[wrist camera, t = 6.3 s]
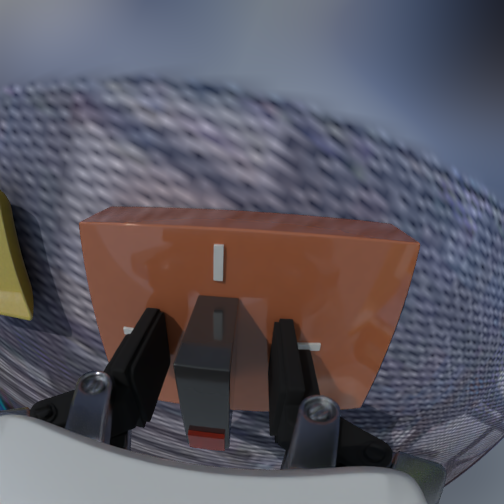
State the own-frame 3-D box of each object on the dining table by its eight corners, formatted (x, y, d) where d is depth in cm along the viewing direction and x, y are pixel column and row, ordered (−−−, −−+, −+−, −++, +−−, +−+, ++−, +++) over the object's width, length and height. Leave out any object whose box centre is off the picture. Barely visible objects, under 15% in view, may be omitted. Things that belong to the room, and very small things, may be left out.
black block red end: (198, 294, 11) (170, 370, 7) (239, 297, 11) (229, 376, 7) (202, 376, 12) (186, 448, 8) (235, 379, 12) (228, 453, 8)
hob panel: (392, 223, 13) (423, 244, 10) (349, 374, 16) (361, 410, 13) (110, 206, 13) (75, 223, 10) (134, 360, 16) (117, 394, 13)
